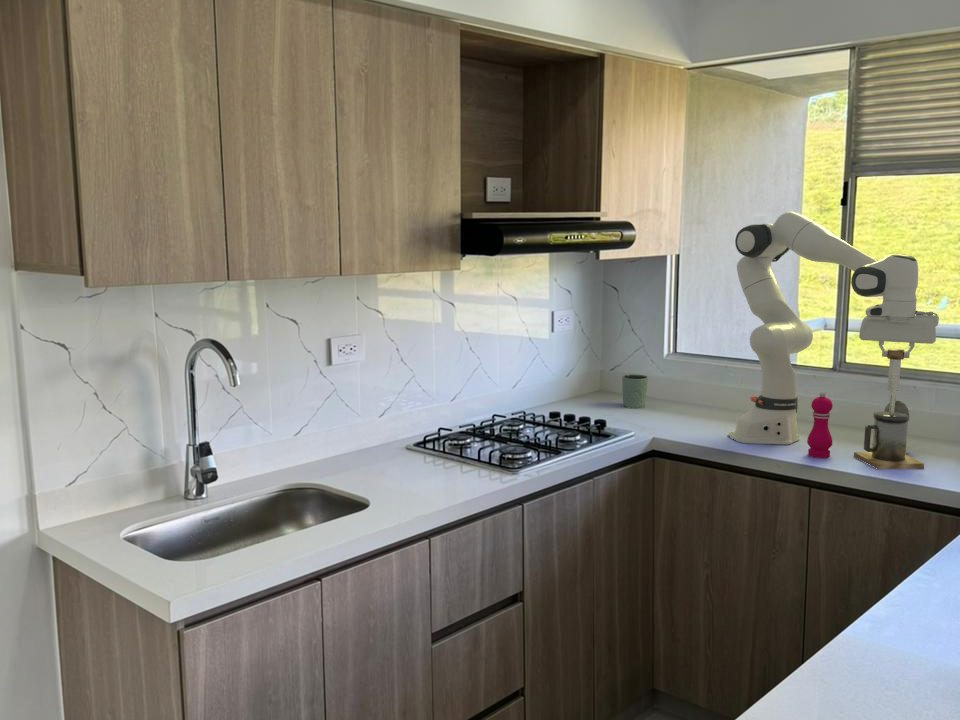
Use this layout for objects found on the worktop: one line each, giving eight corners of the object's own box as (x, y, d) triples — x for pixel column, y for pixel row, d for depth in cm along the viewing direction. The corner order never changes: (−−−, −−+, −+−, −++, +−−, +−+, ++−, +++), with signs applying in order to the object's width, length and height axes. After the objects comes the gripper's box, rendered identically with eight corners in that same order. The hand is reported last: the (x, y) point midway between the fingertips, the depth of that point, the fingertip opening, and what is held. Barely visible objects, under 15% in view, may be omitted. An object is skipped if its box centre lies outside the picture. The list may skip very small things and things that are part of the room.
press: (872, 462, 252) (877, 386, 248) (856, 453, 261) (861, 380, 258) (912, 461, 252) (918, 386, 249) (895, 453, 262) (900, 380, 258)
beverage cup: (909, 452, 268) (914, 389, 265) (884, 451, 270) (888, 388, 267) (903, 447, 275) (907, 385, 272) (878, 446, 277) (882, 384, 274)
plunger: (889, 391, 251) (892, 350, 250) (882, 389, 256) (884, 348, 254) (904, 391, 252) (907, 350, 250) (896, 389, 256) (899, 348, 254)
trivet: (877, 469, 250) (877, 464, 249) (853, 456, 264) (854, 452, 263) (924, 468, 250) (924, 463, 250) (898, 456, 264) (898, 451, 264)
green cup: (632, 402, 347) (633, 373, 345) (652, 406, 339) (653, 376, 337) (616, 406, 340) (616, 376, 339) (635, 410, 333) (636, 379, 331)
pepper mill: (811, 451, 270) (814, 388, 267) (834, 455, 265) (838, 391, 262) (803, 456, 264) (806, 392, 261) (827, 460, 260) (831, 395, 257)
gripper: (939, 310, 248) (935, 358, 251) (861, 307, 258) (858, 353, 260) (939, 312, 243) (935, 361, 245) (860, 309, 252) (857, 356, 254)
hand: (895, 357), depth 252 cm, fingers closed on plunger, 4 cm apart
